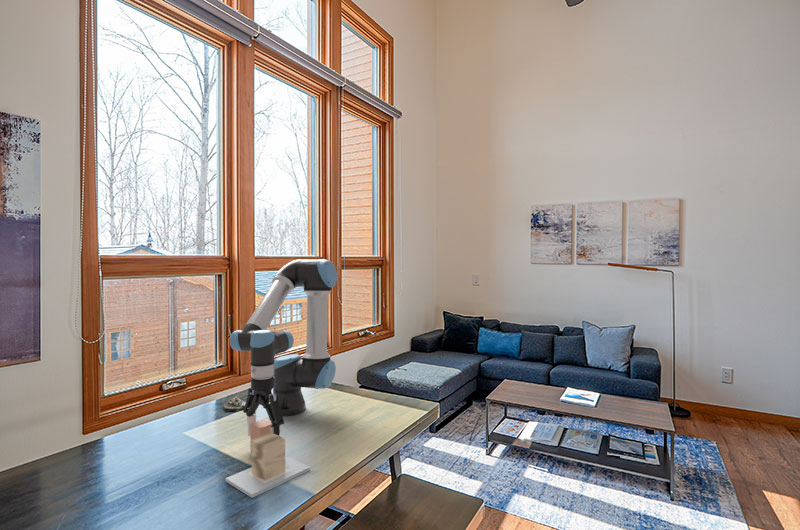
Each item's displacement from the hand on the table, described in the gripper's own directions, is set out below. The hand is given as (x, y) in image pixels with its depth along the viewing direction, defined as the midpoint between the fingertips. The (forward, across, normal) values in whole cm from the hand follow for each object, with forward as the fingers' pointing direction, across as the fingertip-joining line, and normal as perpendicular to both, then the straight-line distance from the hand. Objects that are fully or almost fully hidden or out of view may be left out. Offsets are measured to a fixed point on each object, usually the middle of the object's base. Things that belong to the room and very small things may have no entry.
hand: (263, 439), depth 147 cm
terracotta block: (+4, 0, 0) cm, 4 cm away
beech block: (+3, +15, -8) cm, 17 cm away
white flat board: (+4, +15, -8) cm, 17 cm away
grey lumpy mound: (+5, -48, +18) cm, 52 cm away
